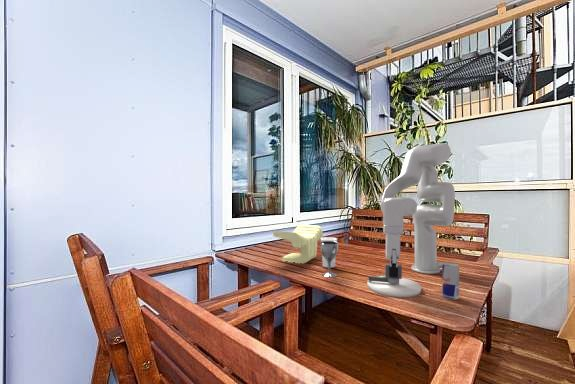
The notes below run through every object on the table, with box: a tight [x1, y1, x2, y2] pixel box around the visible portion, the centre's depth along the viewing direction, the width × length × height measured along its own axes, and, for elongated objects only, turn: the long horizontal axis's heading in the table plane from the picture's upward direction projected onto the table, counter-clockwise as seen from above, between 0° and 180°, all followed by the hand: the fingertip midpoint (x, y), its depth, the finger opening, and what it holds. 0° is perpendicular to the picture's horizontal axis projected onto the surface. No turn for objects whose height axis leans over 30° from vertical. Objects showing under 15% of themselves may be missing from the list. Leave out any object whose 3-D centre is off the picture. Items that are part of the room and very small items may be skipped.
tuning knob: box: [368, 263, 403, 284], centre depth 112 cm, size 12×4×7 cm, turn 73°
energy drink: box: [441, 262, 460, 301], centre depth 101 cm, size 5×5×12 cm
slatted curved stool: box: [272, 224, 324, 264], centre depth 156 cm, size 30×16×18 cm, turn 151°
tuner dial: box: [366, 275, 422, 298], centre depth 111 cm, size 20×20×2 cm
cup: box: [320, 236, 338, 268], centre depth 142 cm, size 8×8×14 cm
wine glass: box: [320, 241, 339, 278], centre depth 128 cm, size 8×8×15 cm
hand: (393, 275), depth 111 cm, fingers closed on tuning knob, 2 cm apart
